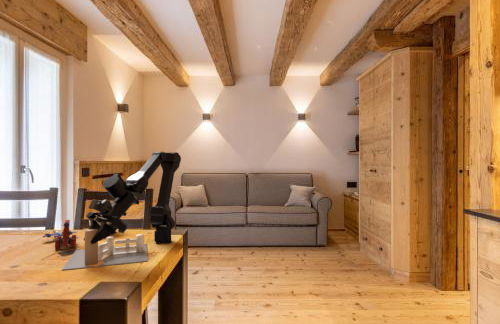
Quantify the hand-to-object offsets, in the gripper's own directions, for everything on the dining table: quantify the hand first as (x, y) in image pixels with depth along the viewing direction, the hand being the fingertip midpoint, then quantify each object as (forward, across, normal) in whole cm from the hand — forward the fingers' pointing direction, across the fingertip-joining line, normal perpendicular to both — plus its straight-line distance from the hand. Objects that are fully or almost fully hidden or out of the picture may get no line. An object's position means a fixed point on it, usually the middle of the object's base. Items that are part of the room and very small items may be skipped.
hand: (87, 242), depth 104 cm
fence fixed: (-6, -3, +16) cm, 17 cm away
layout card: (-2, -5, +13) cm, 14 cm away
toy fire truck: (+2, -32, +10) cm, 33 cm away
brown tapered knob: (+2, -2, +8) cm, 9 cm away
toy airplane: (0, -48, +13) cm, 50 cm away
